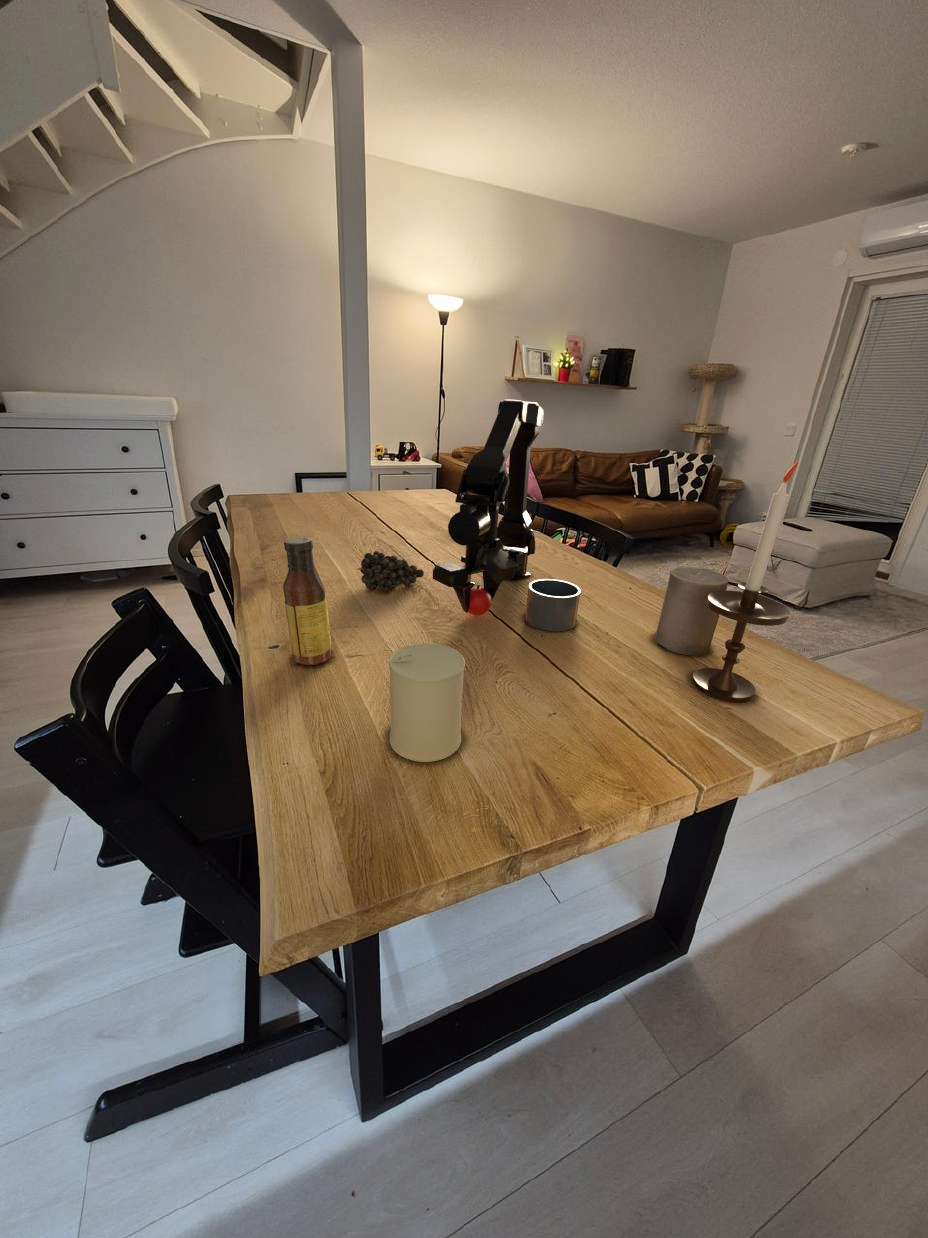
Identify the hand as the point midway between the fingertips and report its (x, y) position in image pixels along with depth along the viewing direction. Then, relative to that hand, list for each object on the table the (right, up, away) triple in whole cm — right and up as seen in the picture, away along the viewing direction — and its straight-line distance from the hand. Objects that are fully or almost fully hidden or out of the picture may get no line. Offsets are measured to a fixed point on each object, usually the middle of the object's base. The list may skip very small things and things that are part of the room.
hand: (476, 608), depth 100 cm
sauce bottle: (-28, -9, -18) cm, 34 cm away
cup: (+15, -2, 0) cm, 15 cm away
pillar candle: (+38, -7, -7) cm, 39 cm away
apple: (0, -1, 0) cm, 1 cm away
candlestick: (+39, -13, -20) cm, 46 cm away
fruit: (-19, +5, +12) cm, 23 cm away
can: (-8, -18, -36) cm, 41 cm away
